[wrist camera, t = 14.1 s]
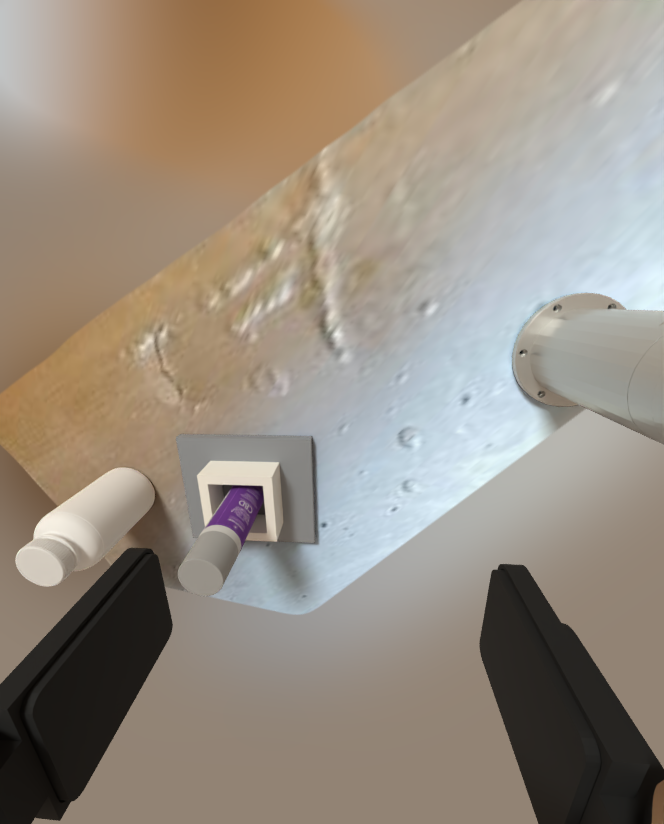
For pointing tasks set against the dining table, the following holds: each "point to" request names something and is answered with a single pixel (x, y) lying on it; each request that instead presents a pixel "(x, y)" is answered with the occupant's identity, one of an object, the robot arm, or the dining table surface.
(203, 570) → the container
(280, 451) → the square socket holder
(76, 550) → the pill bottle
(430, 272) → the dining table surface
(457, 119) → the dining table surface
